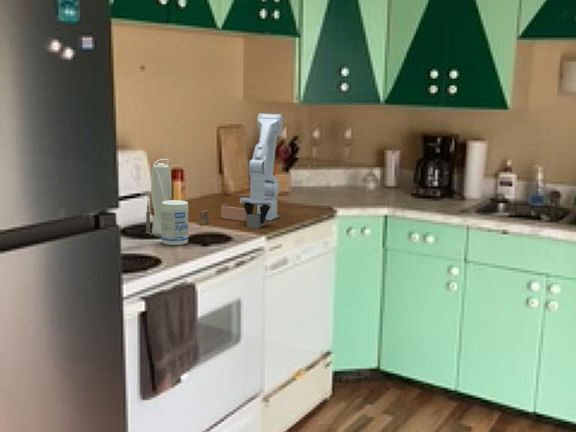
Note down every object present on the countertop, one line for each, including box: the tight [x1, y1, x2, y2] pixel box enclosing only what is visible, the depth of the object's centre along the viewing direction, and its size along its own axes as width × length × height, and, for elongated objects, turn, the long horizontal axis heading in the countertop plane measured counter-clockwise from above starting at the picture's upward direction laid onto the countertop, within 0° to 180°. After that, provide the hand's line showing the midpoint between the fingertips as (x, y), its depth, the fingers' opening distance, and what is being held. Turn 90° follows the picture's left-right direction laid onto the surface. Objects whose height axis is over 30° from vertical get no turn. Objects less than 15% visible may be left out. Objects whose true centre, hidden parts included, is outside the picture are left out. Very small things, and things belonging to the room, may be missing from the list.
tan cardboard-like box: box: [199, 203, 229, 226], centre depth 273 cm, size 20×2×6 cm, turn 157°
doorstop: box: [246, 212, 267, 229], centre depth 267 cm, size 9×4×5 cm, turn 159°
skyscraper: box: [145, 158, 172, 238], centre depth 246 cm, size 8×8×28 cm
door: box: [220, 205, 247, 222], centre depth 276 cm, size 11×1×5 cm, turn 67°
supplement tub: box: [160, 199, 189, 246], centre depth 234 cm, size 10×10×15 cm
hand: (256, 222), depth 267 cm, fingers closed on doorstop, 5 cm apart
